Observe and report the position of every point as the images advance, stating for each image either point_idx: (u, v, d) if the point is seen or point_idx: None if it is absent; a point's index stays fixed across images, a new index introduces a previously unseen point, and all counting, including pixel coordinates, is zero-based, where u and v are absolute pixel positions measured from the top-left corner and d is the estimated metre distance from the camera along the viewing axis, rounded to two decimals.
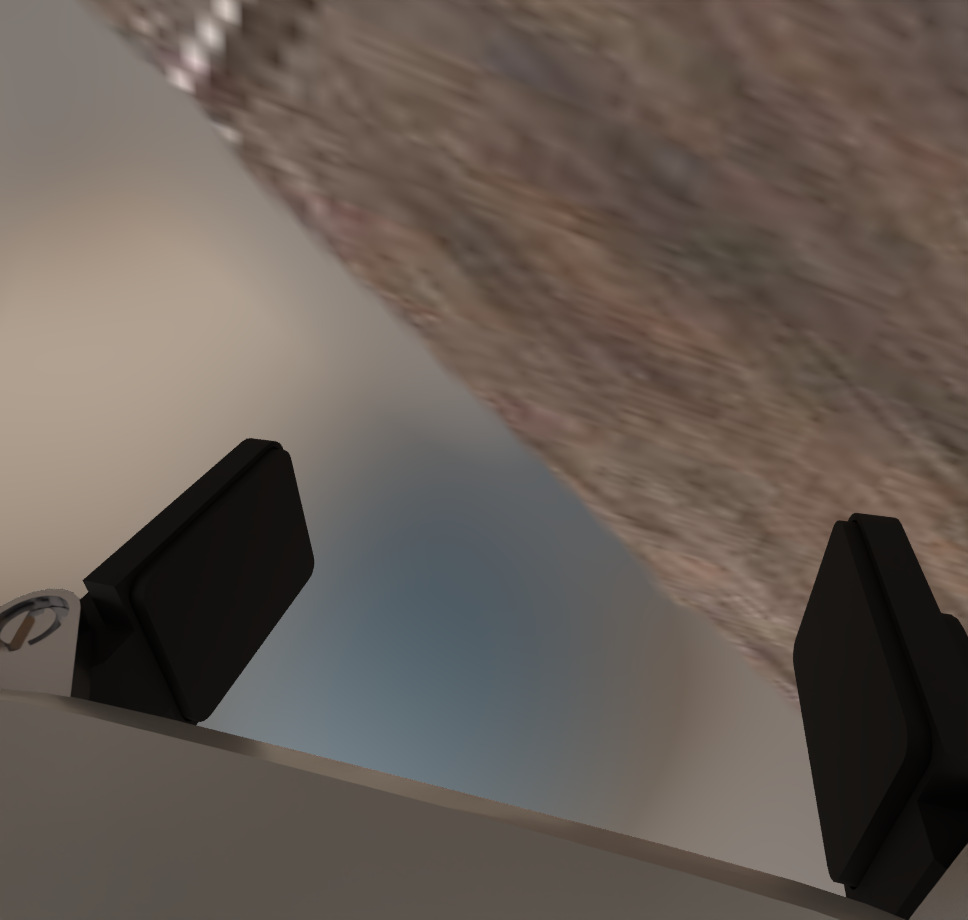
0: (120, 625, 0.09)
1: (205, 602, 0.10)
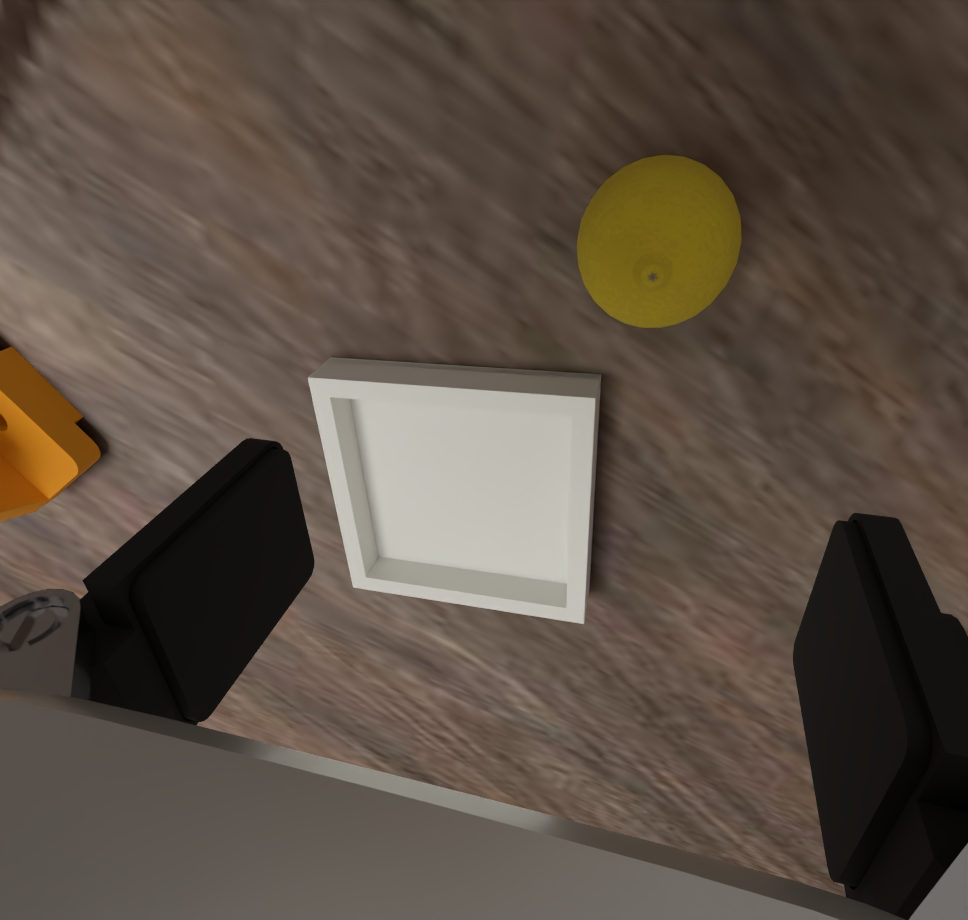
0: (120, 625, 0.09)
1: (205, 602, 0.10)
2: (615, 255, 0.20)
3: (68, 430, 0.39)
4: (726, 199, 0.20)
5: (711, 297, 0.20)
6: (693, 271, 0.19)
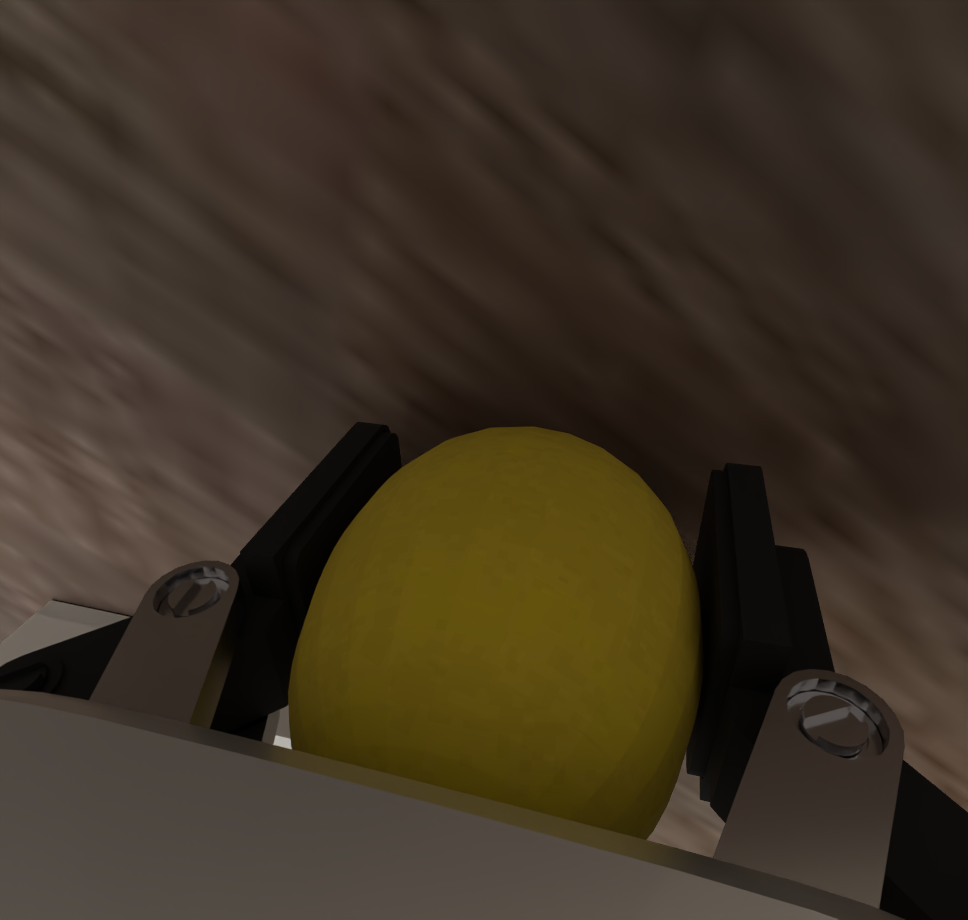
0: (270, 595, 0.09)
1: None
2: None
3: None
4: (655, 636, 0.07)
5: None
6: None
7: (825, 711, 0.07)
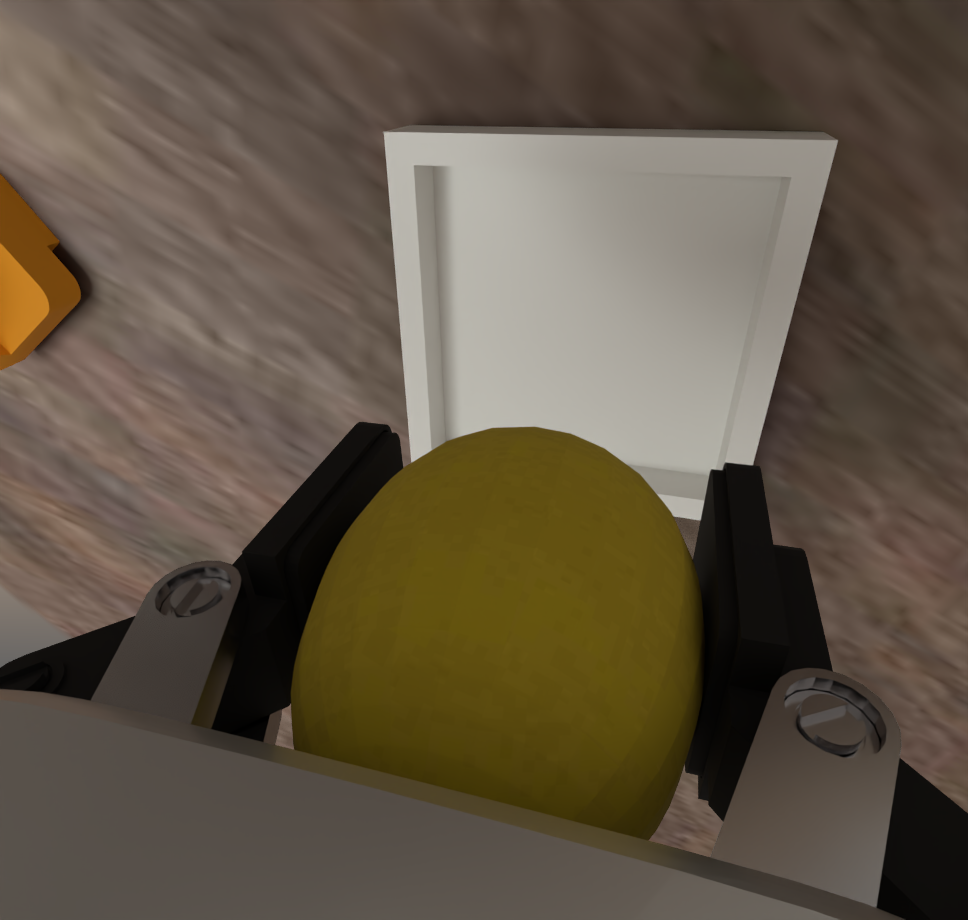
0: (272, 595, 0.09)
1: None
2: None
3: (38, 253, 0.29)
4: (658, 636, 0.07)
5: None
6: None
7: (822, 710, 0.07)
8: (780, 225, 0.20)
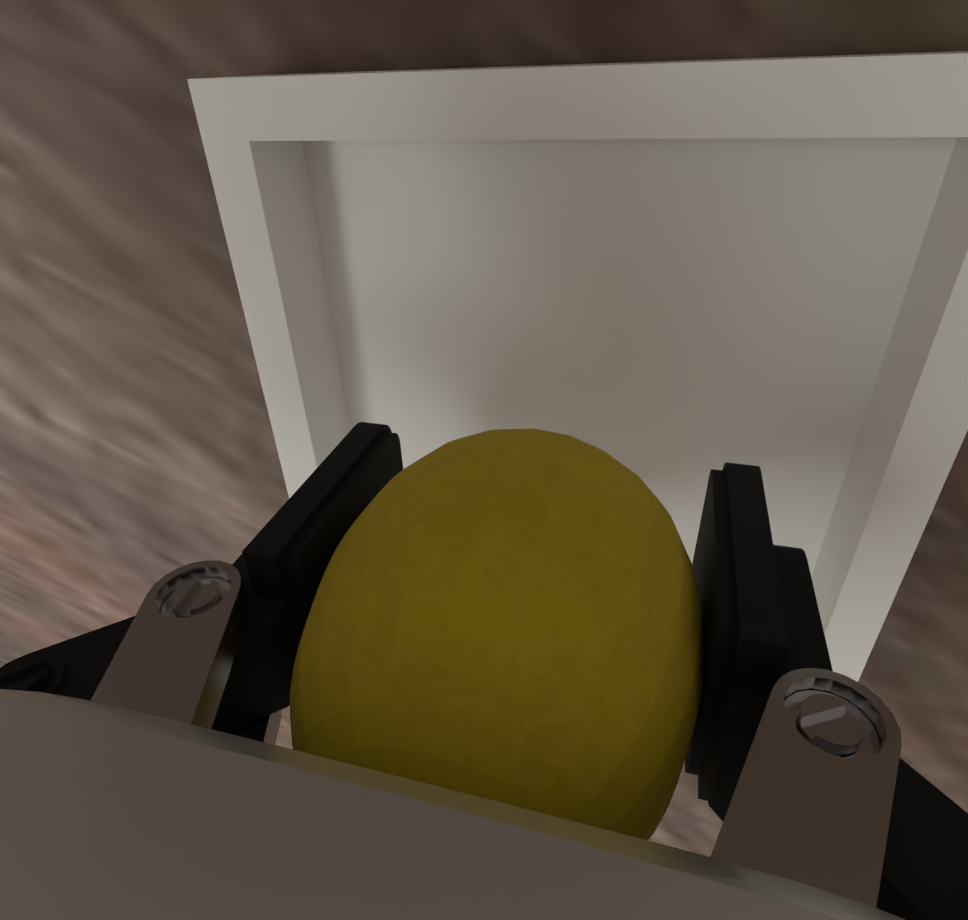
0: (272, 595, 0.09)
1: None
2: None
3: None
4: (656, 638, 0.07)
5: None
6: None
7: (823, 710, 0.07)
8: None
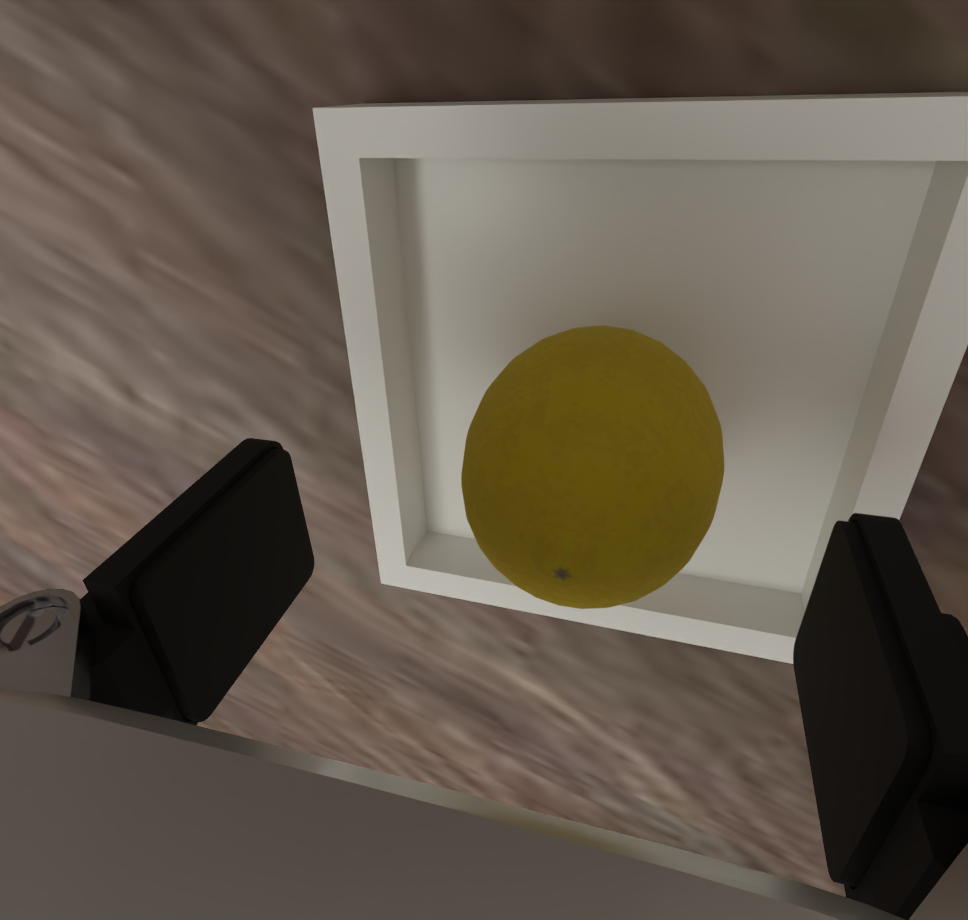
0: (120, 625, 0.09)
1: (205, 602, 0.10)
2: (504, 521, 0.11)
3: None
4: (696, 423, 0.12)
5: (671, 577, 0.12)
6: (634, 559, 0.11)
7: None
8: (944, 241, 0.12)
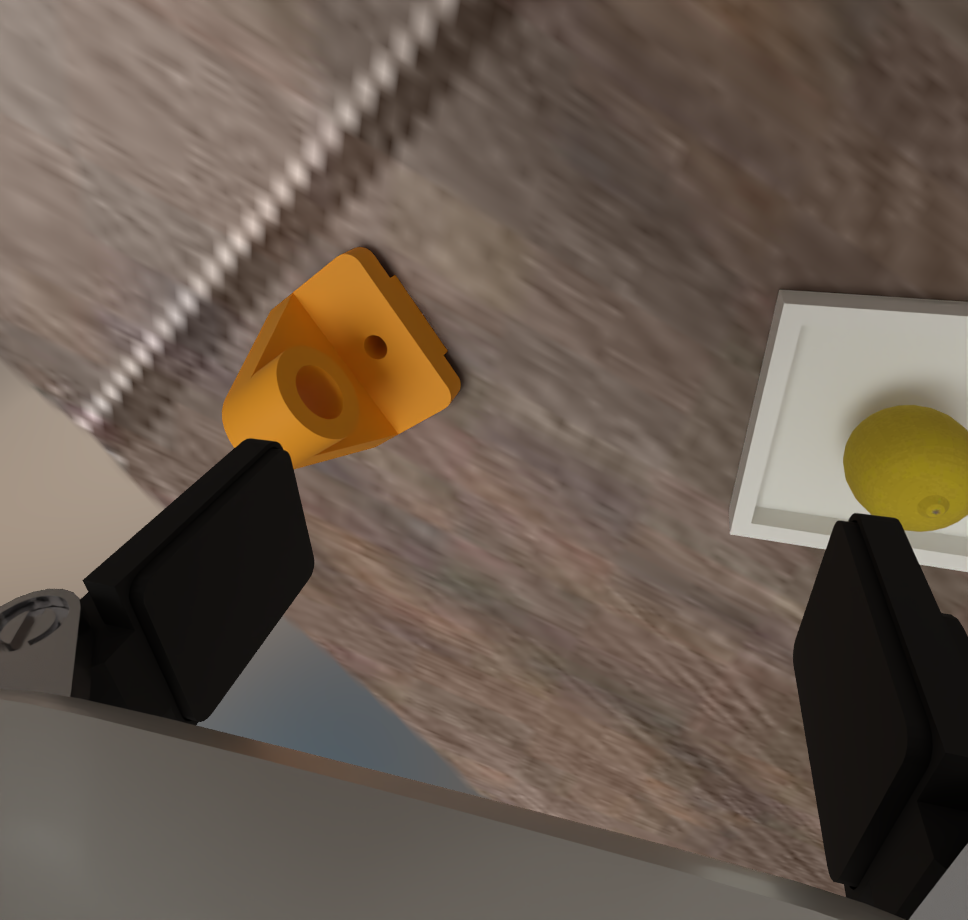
0: (120, 625, 0.09)
1: (205, 602, 0.10)
2: (904, 492, 0.28)
3: (441, 362, 0.39)
4: None
5: (963, 517, 0.29)
6: (961, 507, 0.28)
7: None
8: None
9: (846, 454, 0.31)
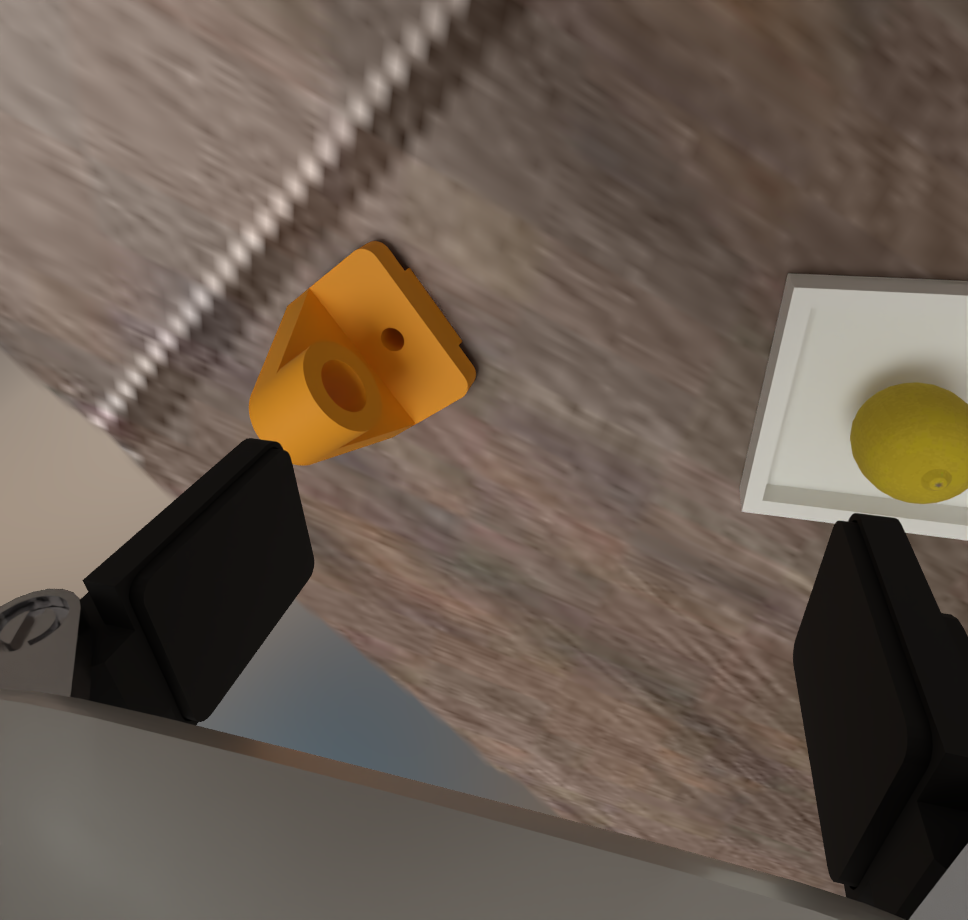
0: (120, 625, 0.09)
1: (205, 602, 0.10)
2: (908, 466, 0.29)
3: (457, 352, 0.40)
4: None
5: (965, 489, 0.30)
6: (963, 479, 0.29)
7: None
8: None
9: (853, 431, 0.33)
